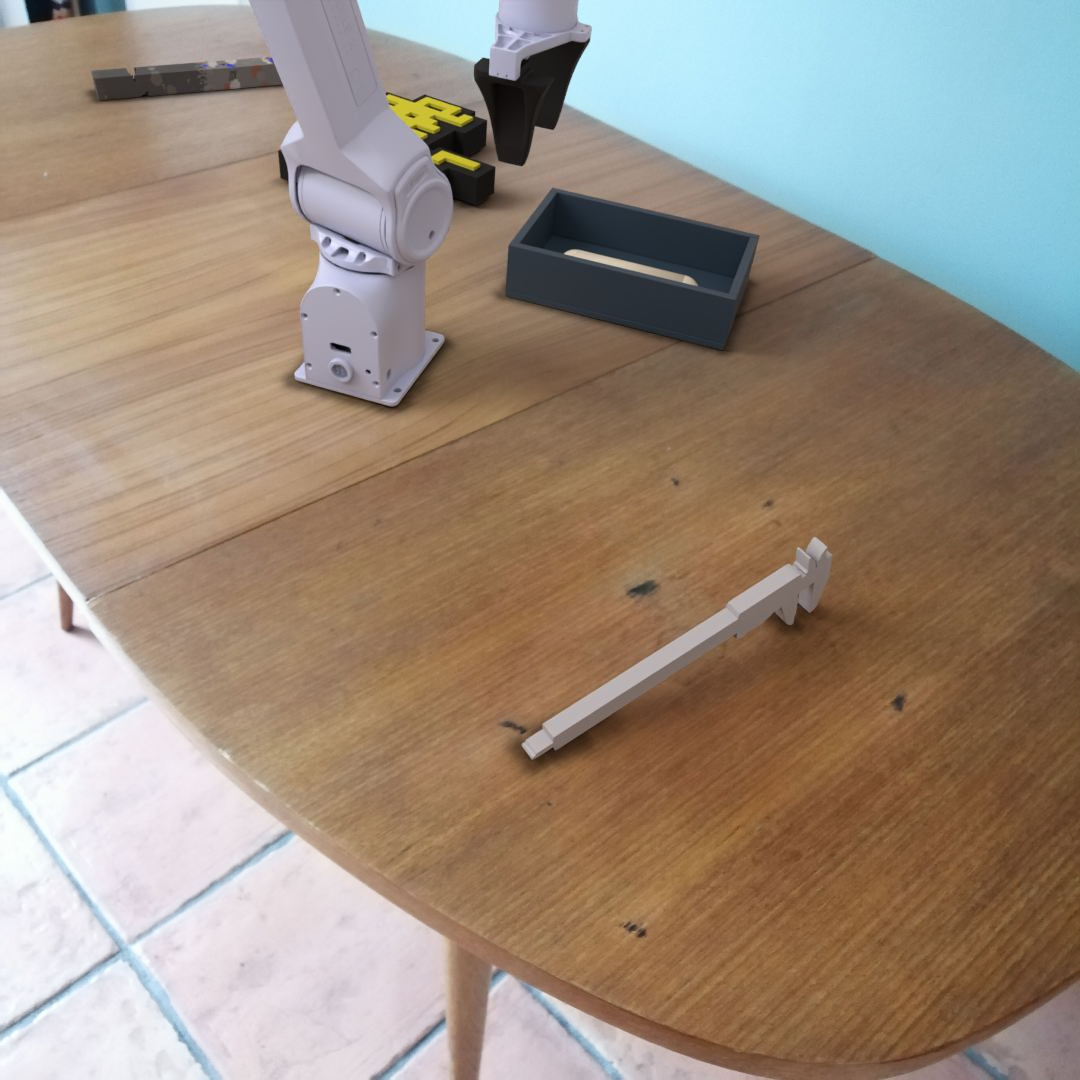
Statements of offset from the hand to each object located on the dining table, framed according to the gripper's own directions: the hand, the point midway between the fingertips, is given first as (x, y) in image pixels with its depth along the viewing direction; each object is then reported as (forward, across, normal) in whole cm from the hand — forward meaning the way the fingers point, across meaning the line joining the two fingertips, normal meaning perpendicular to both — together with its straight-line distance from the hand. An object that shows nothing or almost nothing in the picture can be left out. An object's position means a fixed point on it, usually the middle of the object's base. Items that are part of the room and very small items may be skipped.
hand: (527, 143), depth 80 cm
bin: (+10, 0, -10) cm, 14 cm away
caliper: (+11, -39, -23) cm, 47 cm away
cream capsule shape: (+8, -1, -10) cm, 13 cm away
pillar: (+11, +19, +43) cm, 48 cm away
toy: (+11, +12, +15) cm, 22 cm away
